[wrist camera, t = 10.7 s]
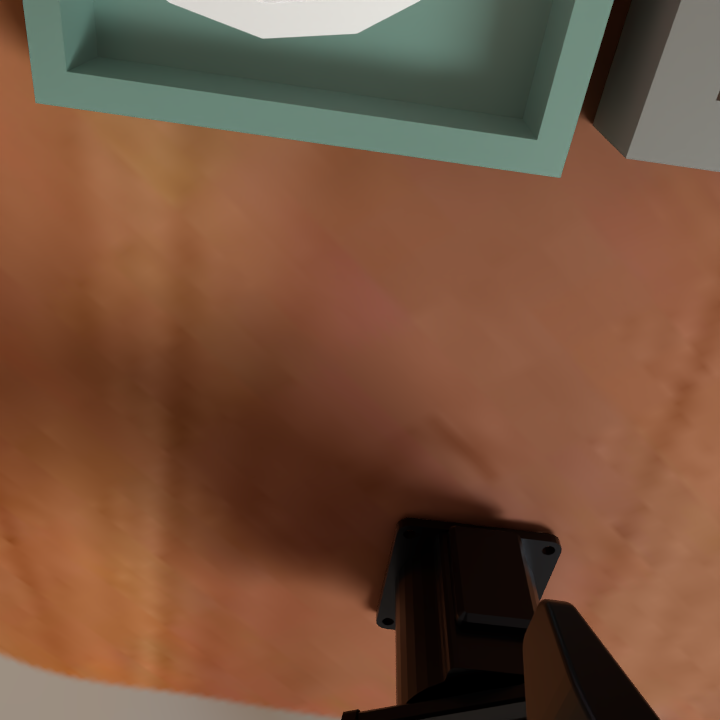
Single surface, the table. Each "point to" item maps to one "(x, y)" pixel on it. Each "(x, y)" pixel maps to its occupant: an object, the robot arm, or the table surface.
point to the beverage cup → (296, 15)
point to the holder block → (666, 85)
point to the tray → (337, 75)
